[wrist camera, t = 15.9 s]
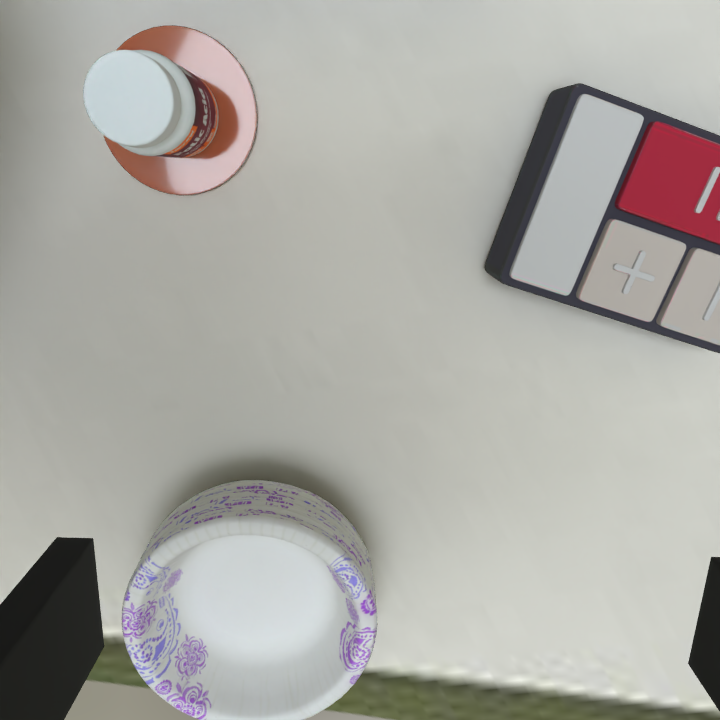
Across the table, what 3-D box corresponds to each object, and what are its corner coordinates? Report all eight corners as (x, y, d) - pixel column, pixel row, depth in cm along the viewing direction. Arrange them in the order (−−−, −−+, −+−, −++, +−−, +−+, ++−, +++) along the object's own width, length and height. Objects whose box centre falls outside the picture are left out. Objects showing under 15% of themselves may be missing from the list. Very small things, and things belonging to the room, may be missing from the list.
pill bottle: (206, 170, 37) (164, 171, 29) (126, 139, 36) (62, 131, 28) (231, 88, 36) (195, 65, 28) (149, 54, 35) (88, 21, 27)
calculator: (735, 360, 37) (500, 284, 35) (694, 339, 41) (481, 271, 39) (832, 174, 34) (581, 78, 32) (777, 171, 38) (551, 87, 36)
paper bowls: (410, 590, 46) (421, 674, 38) (231, 673, 48) (208, 768, 40) (305, 419, 42) (294, 475, 34) (115, 517, 44) (65, 590, 36)
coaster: (105, 191, 38) (103, 191, 37) (93, 22, 35) (90, 21, 35) (257, 198, 38) (256, 198, 37) (257, 30, 35) (256, 29, 35)
